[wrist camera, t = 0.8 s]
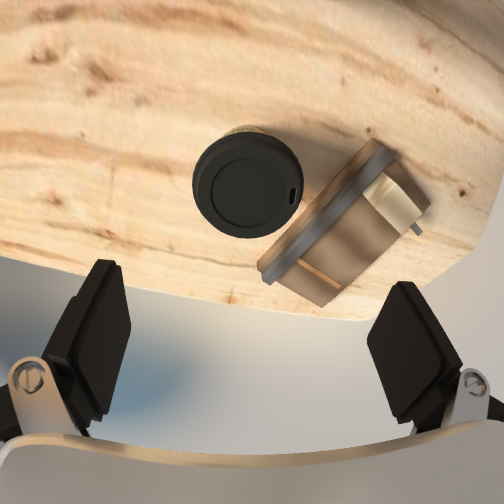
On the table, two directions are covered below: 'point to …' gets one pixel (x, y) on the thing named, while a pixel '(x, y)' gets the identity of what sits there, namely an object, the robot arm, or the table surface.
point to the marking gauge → (393, 204)
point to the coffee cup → (247, 183)
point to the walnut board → (338, 231)
